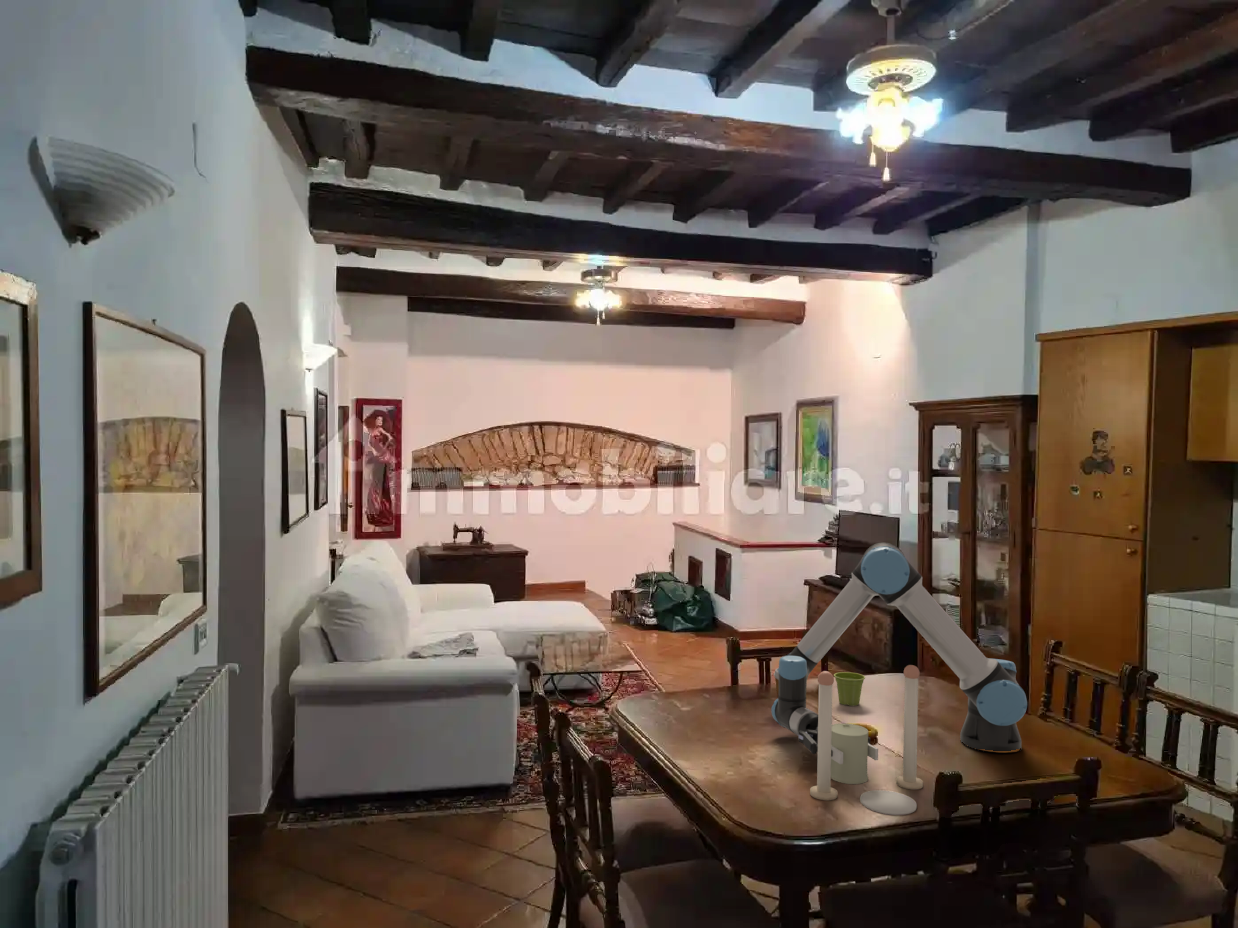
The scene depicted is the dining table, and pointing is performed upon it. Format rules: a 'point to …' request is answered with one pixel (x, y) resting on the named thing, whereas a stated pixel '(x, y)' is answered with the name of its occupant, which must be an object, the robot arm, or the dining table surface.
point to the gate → (825, 734)
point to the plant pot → (849, 687)
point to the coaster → (888, 802)
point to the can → (850, 753)
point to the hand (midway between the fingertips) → (859, 756)
